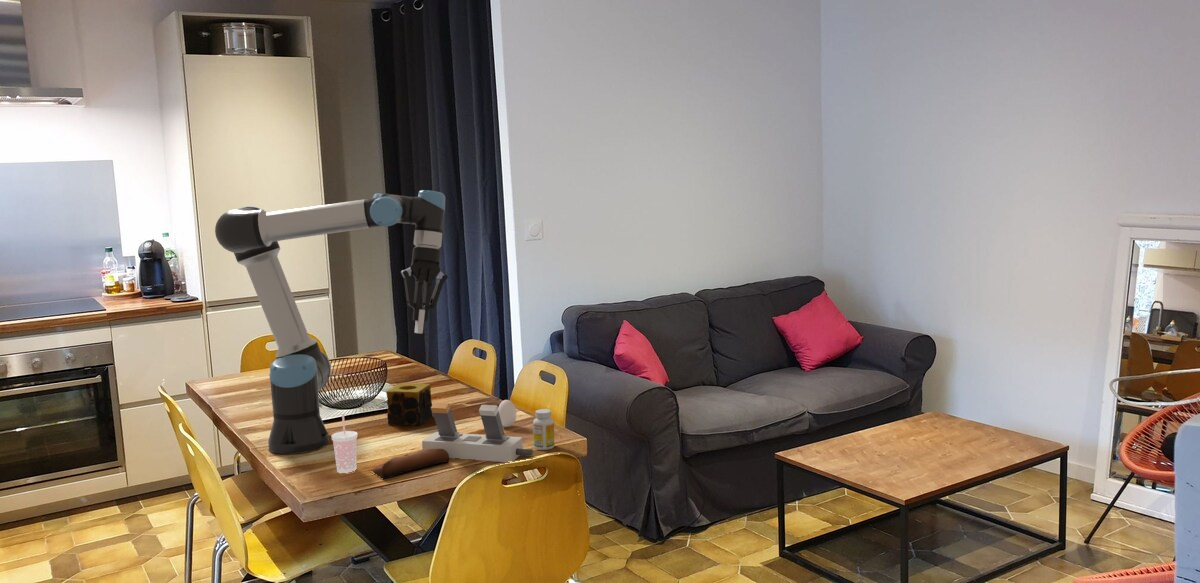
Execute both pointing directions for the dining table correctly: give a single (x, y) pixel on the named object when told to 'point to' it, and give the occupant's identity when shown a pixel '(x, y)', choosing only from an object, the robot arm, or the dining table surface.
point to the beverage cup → (345, 449)
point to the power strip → (478, 447)
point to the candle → (409, 404)
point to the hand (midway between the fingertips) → (418, 333)
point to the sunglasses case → (411, 462)
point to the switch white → (492, 422)
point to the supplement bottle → (543, 430)
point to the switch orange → (444, 419)
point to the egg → (507, 413)
